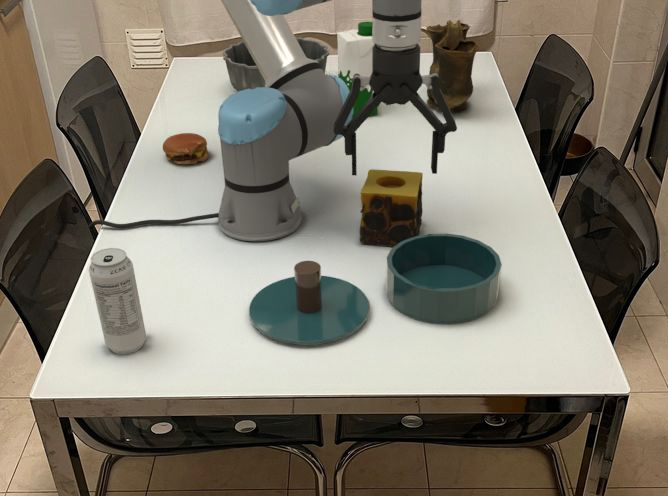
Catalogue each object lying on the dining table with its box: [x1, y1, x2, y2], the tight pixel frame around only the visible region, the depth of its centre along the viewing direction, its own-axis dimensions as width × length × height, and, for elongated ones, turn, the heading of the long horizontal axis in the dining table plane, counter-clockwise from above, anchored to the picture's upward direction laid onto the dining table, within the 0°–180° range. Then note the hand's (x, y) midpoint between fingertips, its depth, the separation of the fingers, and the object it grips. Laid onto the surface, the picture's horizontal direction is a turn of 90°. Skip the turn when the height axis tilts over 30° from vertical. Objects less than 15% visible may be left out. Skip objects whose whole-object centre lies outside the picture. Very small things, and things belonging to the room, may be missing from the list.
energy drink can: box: [88, 247, 147, 355], centre depth 120 cm, size 6×6×15 cm
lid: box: [248, 260, 370, 346], centre depth 127 cm, size 19×19×8 cm
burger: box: [162, 132, 210, 165], centre depth 177 cm, size 10×9×5 cm
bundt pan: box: [222, 37, 330, 92], centre depth 208 cm, size 26×26×10 cm
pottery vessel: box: [425, 19, 479, 114], centre depth 194 cm, size 25×11×20 cm, turn 0°
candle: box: [359, 169, 424, 247], centre depth 147 cm, size 10×10×10 cm
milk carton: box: [336, 21, 379, 118], centre depth 192 cm, size 9×9×20 cm
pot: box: [385, 233, 503, 325], centre depth 132 cm, size 18×18×6 cm
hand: (393, 171), depth 142 cm, fingers open, 13 cm apart
